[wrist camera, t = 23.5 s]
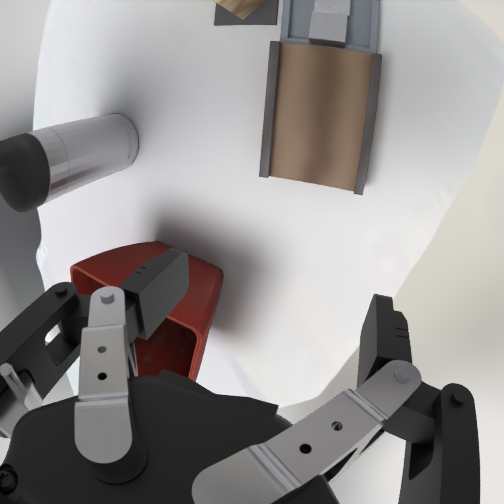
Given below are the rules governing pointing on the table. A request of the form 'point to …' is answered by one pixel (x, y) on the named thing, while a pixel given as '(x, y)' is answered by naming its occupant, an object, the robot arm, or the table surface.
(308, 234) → the table surface
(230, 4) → the tall wooden block
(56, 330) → the lightbulb
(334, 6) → the chip
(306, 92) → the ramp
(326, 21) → the chip
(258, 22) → the mat
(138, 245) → the plant pot
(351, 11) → the tray
